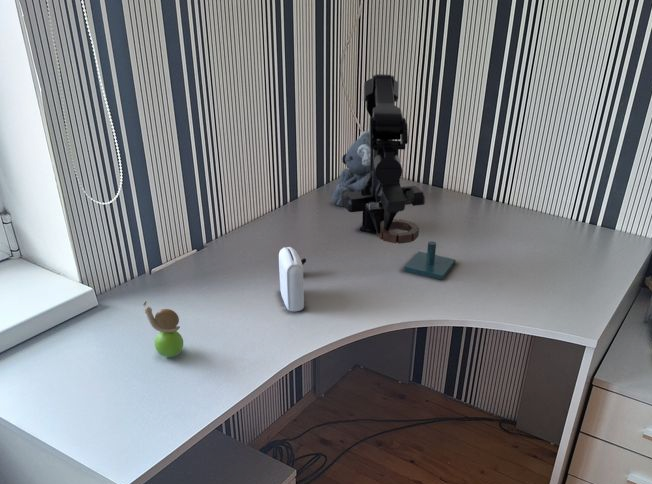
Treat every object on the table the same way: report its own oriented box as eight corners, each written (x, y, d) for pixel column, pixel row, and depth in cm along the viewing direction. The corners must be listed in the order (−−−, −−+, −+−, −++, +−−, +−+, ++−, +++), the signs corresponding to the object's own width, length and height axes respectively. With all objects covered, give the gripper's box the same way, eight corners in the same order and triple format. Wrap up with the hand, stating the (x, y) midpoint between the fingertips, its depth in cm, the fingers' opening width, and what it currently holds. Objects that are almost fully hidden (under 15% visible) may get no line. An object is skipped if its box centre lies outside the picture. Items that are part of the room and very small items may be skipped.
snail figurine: (154, 347, 139) (145, 295, 132) (186, 346, 139) (179, 294, 133) (149, 362, 134) (140, 309, 128) (182, 362, 135) (175, 309, 128)
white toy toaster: (278, 291, 160) (276, 242, 153) (296, 289, 161) (295, 241, 154) (287, 313, 152) (285, 263, 145) (306, 311, 153) (305, 261, 146)
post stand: (404, 271, 171) (405, 246, 167) (418, 255, 179) (420, 231, 175) (442, 279, 168) (444, 255, 164) (455, 263, 175) (457, 239, 172)
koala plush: (338, 187, 219) (339, 125, 208) (395, 191, 218) (398, 129, 207) (330, 207, 204) (331, 142, 194) (391, 211, 203) (394, 146, 192)
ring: (370, 238, 163) (371, 230, 162) (387, 223, 171) (387, 216, 170) (408, 246, 160) (408, 238, 159) (423, 231, 167) (423, 224, 166)
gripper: (357, 185, 146) (355, 251, 154) (437, 177, 152) (431, 242, 160) (341, 167, 155) (340, 231, 163) (417, 161, 160) (413, 223, 169)
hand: (382, 232), depth 164 cm, fingers closed on ring, 2 cm apart
